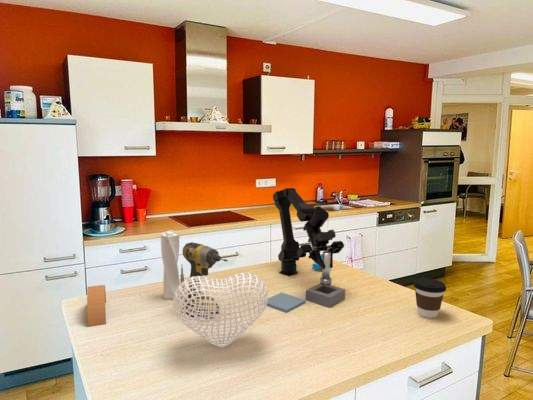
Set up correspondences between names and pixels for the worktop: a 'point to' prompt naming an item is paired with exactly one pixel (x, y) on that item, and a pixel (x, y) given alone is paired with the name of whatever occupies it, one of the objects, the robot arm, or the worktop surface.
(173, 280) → the skyscraper
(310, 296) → the socket block
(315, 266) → the blue flower bunch
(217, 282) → the heart
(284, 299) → the mat
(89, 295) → the orange rectangular block
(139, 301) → the worktop surface
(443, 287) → the coffee cup
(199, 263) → the cordless drill
